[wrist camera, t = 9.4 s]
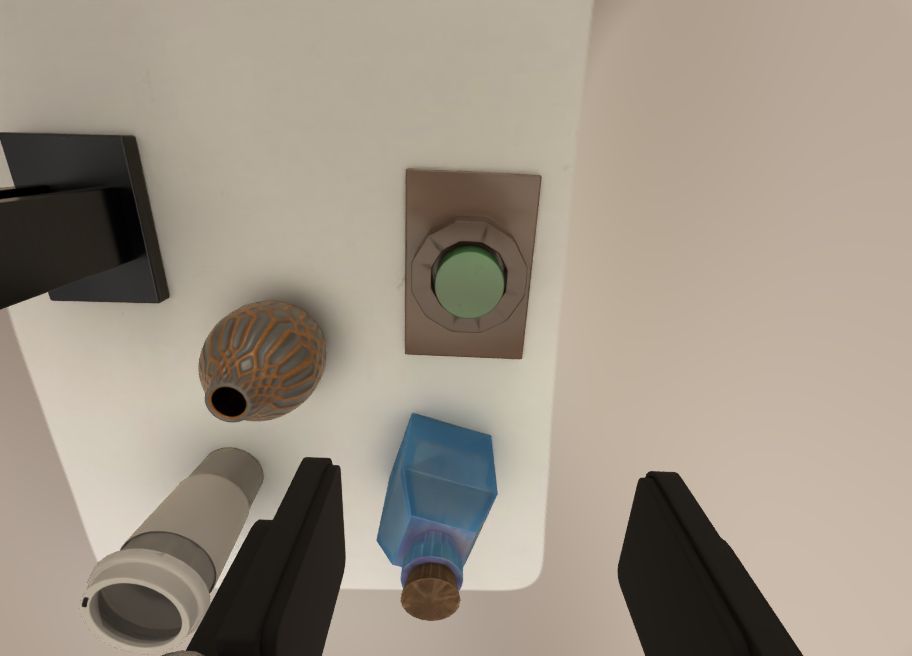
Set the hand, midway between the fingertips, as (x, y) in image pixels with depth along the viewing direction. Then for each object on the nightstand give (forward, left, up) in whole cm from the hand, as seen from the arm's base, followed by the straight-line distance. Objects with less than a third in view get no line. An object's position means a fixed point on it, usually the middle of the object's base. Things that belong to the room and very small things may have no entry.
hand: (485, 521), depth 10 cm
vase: (+2, -13, -22) cm, 26 cm away
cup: (+12, -21, -22) cm, 33 cm away
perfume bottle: (+14, -5, -22) cm, 26 cm away
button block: (0, 0, -22) cm, 22 cm away
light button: (0, 0, -20) cm, 20 cm away
